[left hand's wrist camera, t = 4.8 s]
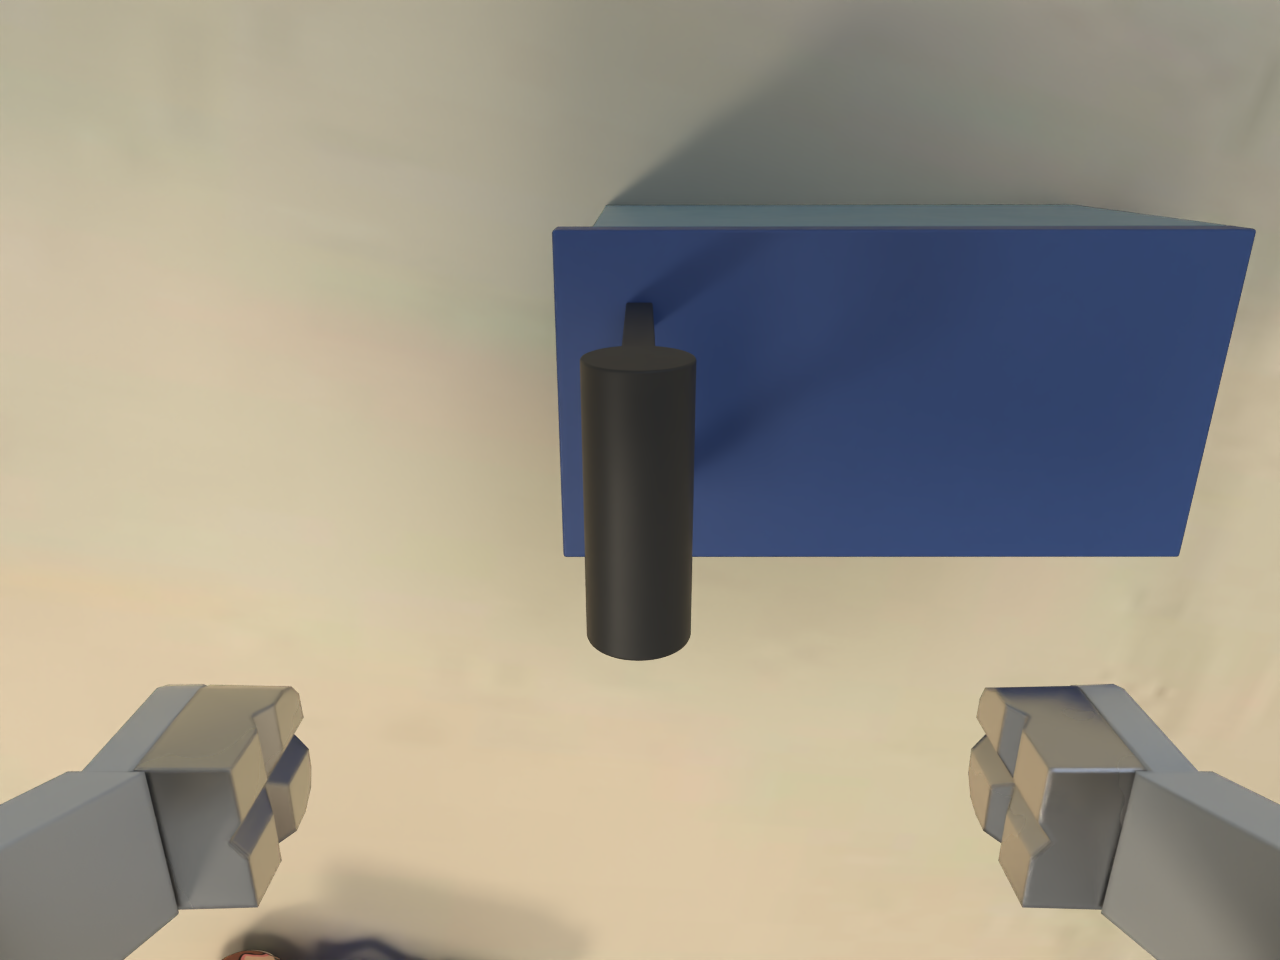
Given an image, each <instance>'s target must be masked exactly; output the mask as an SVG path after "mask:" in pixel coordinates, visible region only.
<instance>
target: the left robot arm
mask: <svg viewBox="0 0 1280 960" xmlns="http://www.w3.org/2000/svg"><path fill="white" fill-rule="evenodd" d="M303 718H304V717H303V712H302V707H301V702H300V697H299V693H298V692H297V691H296V690H295V689H293V688H292V687H291V686H245V685H208V686H207V685H204V684H198V685H166V686H162V687H159V688H157V689H156V690H155V691H154V692H153V693H152V694H151V695H150V696H149V697H148V698H147V700H146V701H145V702H144V703H143V704H142V705H141V706H140V707H139V708H138V710H137V711H136V712H135V713H134V714H133V715H132V716H131V717H130V718H129V720H128V721H127V722H126V723H125V724H124V725H123V726H122V727H121V728H120V729H119V731H118V732H117V733H116V734H115V735H114V736H113V737H112V738H111V739H110V741H109V742H108V743H107V744H106V745H105V746H104V747H103V748H102V749H101V751H100V752H99V753H98V754H97V755H96V756H95V757H94V758H93V759H92V761H91V762H90V763H89V764H88V765H87V766H86V767H85V768H84V769H83V770H82V771H78V772H66V773H64V774H62V775H60V776H58V777H56V778H54V779H51V780H49V781H47V782H45V783H43V784H41V785H39V786H37V787H35V788H33V789H31V790H29V791H27V792H25V793H23V794H21V795H19V796H17V797H15V798H13V799H11V800H9V801H7V802H5V803H3V804H1V805H0V960H124V959H125V958H126V957H127V956H128V955H130V954H131V953H132V952H133V951H134V950H136V949H137V948H138V947H139V946H140V945H142V944H143V943H144V942H145V941H146V940H148V939H149V938H150V937H151V936H153V935H154V934H155V933H156V932H157V931H159V930H160V929H161V928H162V927H163V926H165V925H166V924H167V923H168V922H169V921H171V920H172V919H173V918H174V917H175V916H177V915H178V913H179V912H178V910H180V909H214V908H249V907H258V906H259V904H260V902H261V900H262V898H263V896H264V894H265V892H266V890H267V888H268V886H269V884H270V882H271V880H272V878H273V876H274V874H275V872H276V870H277V868H278V866H279V865H280V863H281V861H282V860H281V854H280V848H279V843H280V842H281V841H283V840H284V839H285V838H287V837H288V836H290V835H291V834H293V833H294V832H295V831H297V829H298V826H299V824H300V822H301V820H302V818H303V816H304V814H305V812H306V807H307V803H308V798H309V794H310V789H311V761H310V754H309V749H308V748H307V747H306V746H305V745H304V744H303V743H302V742H301V741H300V740H299V739H298V738H297V737H296V736H295V735H294V733H295V732H296V730H297V728H298V726H299V725H300V723H301V721H302V719H303ZM976 718H977V719H978V721H979V723H980V725H981V726H982V728H983V730H984V731H985V733H986V735H985V736H984V737H983V738H982V739H981V740H980V741H979V742H978V743H977V744H976V745H975V746H974V747H973V748H972V749H971V756H970V764H969V772H968V775H969V786H970V797H971V800H972V804H973V807H974V811H975V814H976V816H977V818H978V820H979V822H980V824H981V827H982V829H983V831H985V832H986V833H987V834H989V835H990V836H992V837H993V838H995V839H996V840H997V841H999V842H1000V843H1001V848H1000V854H999V860H998V861H999V863H1000V865H1001V866H1002V868H1003V870H1004V872H1005V874H1006V876H1007V878H1008V880H1009V882H1010V884H1011V886H1012V888H1013V890H1014V892H1015V894H1016V896H1017V898H1018V900H1019V902H1020V904H1021V906H1022V907H1029V908H1065V909H1100V910H1102V911H1101V914H1103V915H1104V916H1105V917H1106V918H1107V919H1109V920H1110V921H1111V922H1112V923H1113V924H1115V925H1116V926H1117V927H1118V928H1119V929H1121V930H1122V931H1123V932H1124V933H1125V934H1127V935H1128V936H1129V937H1130V938H1131V939H1133V940H1134V941H1135V942H1136V943H1137V944H1139V945H1140V946H1141V947H1142V948H1143V949H1145V950H1146V951H1147V952H1148V953H1149V954H1151V955H1152V956H1153V957H1154V958H1155V959H1157V960H1280V805H1279V804H1277V803H1275V802H1273V801H1271V800H1269V799H1267V798H1265V797H1263V796H1261V795H1259V794H1257V793H1255V792H1253V791H1251V790H1249V789H1247V788H1245V787H1243V786H1241V785H1239V784H1237V783H1235V782H1233V781H1231V780H1228V779H1226V778H1224V777H1222V776H1220V775H1218V774H1216V773H1214V772H1202V771H1198V770H1197V769H1196V768H1195V767H1194V766H1193V765H1192V764H1191V763H1190V762H1189V761H1188V759H1187V758H1186V757H1185V756H1184V755H1183V754H1182V753H1181V752H1180V751H1179V749H1178V748H1177V747H1176V746H1175V745H1174V744H1173V743H1172V742H1171V741H1170V739H1169V738H1168V737H1167V736H1166V735H1165V734H1164V733H1163V732H1162V731H1161V729H1160V728H1159V727H1158V726H1157V725H1156V724H1155V723H1154V722H1153V721H1152V720H1151V718H1150V717H1149V716H1148V715H1147V714H1146V713H1145V712H1144V711H1143V710H1142V708H1141V707H1140V706H1139V705H1138V704H1137V703H1136V702H1135V701H1134V700H1133V698H1132V697H1131V696H1130V695H1129V694H1128V693H1127V692H1126V691H1125V690H1124V689H1123V688H1121V687H1119V686H1116V685H1114V684H1098V685H1071V686H1051V687H997V688H985V689H984V691H983V693H982V695H981V697H980V700H979V706H978V711H977V717H976Z"/></svg>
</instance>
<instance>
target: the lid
mask: <svg viewBox="0 0 1280 960" xmlns="http://www.w3.org/2000/svg"><path fill="white" fill-rule="evenodd" d="M1255 233H1256V230H1255V229H1251V228H1244V227H1236V226H706V227H557V228H555V229H554V230H553V232H552V243H553V271H554V299H555V327H556V355H557V383H558V411H559V439H560V467H561V495H562V523H563V551H564V556H565V557H585V579H586V617H587V637H588V639H589V641H590V643H591V644H592V645H593V647H595V648H596V649H597V650H599V651H600V652H602V653H604V654H606V655H609V656H611V657H615V658H619V659H624V660H635V661H642V660H653V659H659V658H662V657H666V656H669V655H671V654H673V653H675V652H677V651H679V650H680V649H682V648H683V647H684V646H685V645H686V644H687V642H688V640H689V638H690V635H691V591H692V557H1177V556H1179V553H1180V549H1181V545H1182V540H1183V536H1184V532H1185V528H1186V524H1187V519H1188V515H1189V511H1190V507H1191V503H1192V498H1193V494H1194V490H1195V486H1196V481H1197V477H1198V473H1199V469H1200V465H1201V460H1202V456H1203V452H1204V448H1205V444H1206V439H1207V435H1208V431H1209V427H1210V423H1211V418H1212V414H1213V410H1214V406H1215V401H1216V397H1217V393H1218V389H1219V385H1220V380H1221V376H1222V372H1223V368H1224V364H1225V359H1226V355H1227V351H1228V347H1229V343H1230V338H1231V334H1232V330H1233V326H1234V321H1235V317H1236V313H1237V309H1238V305H1239V300H1240V296H1241V292H1242V288H1243V284H1244V279H1245V275H1246V271H1247V267H1248V263H1249V258H1250V254H1251V250H1252V246H1253V241H1254V237H1255Z"/></svg>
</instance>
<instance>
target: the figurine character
mask: <svg viewBox="0 0 1280 960" xmlns="http://www.w3.org/2000/svg"><path fill="white" fill-rule="evenodd" d="M222 960H280V959H279V958H277V957H276V956H274V955H272V954H270V953H268V952H264V951H259V950H247V951H241V952H237V953H234V954H232V955H229V956H227V957H225V958H224V959H222Z"/></svg>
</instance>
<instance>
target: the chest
mask: <svg viewBox="0 0 1280 960" xmlns="http://www.w3.org/2000/svg"><path fill="white" fill-rule="evenodd" d="M706 226H1226V225H1221V224H1214V223H1206V222H1199V221H1191V220H1184V219H1176V218H1169V217H1161V216H1154V215H1146V214H1139V213H1131V212H1124V211H1116V210H1108V209H1101V208H1093V207H1086V206H1079V205H606V206H605V208H604V210H603V211H602V213H601V214H600V216H599V218H598V219H597V221H596V222H595V224H594V226H593V227H706Z"/></svg>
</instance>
